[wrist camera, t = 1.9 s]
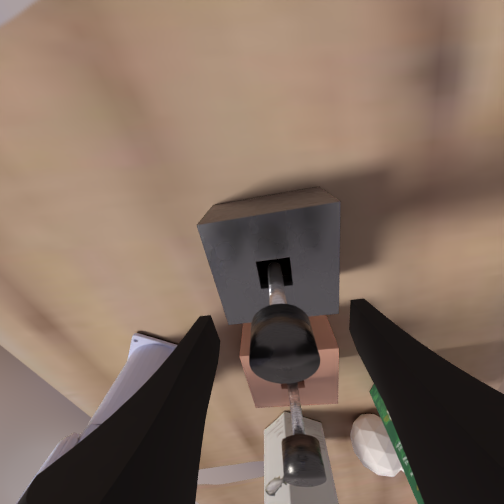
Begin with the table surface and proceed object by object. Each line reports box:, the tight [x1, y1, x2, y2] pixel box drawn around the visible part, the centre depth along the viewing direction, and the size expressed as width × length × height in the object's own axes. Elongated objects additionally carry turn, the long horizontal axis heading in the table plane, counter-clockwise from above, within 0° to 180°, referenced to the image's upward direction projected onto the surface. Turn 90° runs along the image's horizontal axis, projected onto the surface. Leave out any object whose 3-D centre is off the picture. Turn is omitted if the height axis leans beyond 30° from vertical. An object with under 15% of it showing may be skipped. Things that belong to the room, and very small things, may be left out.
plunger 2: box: [281, 382, 327, 487], centre depth 18 cm, size 3×3×8 cm
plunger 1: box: [249, 262, 320, 384], centre depth 12 cm, size 3×3×8 cm
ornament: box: [350, 414, 405, 477], centre depth 29 cm, size 6×7×7 cm
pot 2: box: [239, 315, 339, 408], centre depth 23 cm, size 9×9×5 cm
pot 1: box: [197, 187, 340, 325], centre depth 17 cm, size 9×9×5 cm
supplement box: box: [264, 411, 339, 504], centre depth 29 cm, size 7×7×13 cm
